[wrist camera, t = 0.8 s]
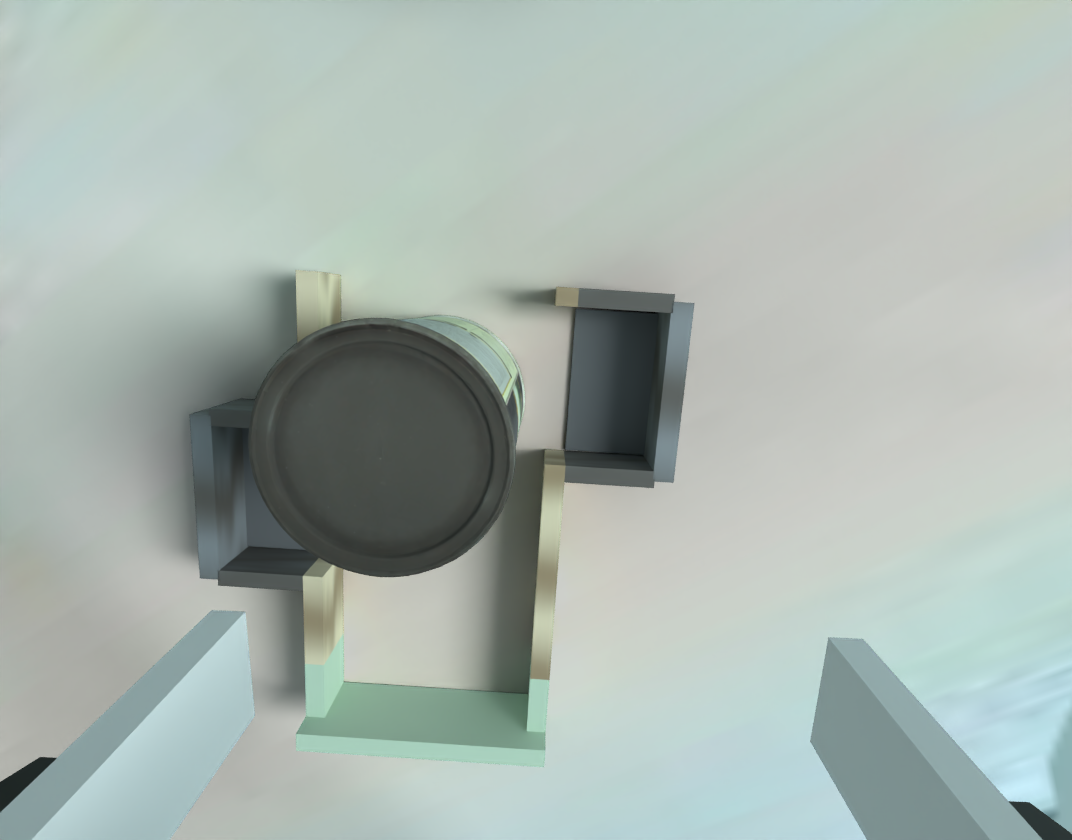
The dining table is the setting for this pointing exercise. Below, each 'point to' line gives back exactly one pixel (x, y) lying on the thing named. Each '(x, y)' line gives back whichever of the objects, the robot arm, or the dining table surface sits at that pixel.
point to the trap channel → (323, 582)
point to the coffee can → (388, 441)
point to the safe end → (421, 719)
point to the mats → (593, 414)
